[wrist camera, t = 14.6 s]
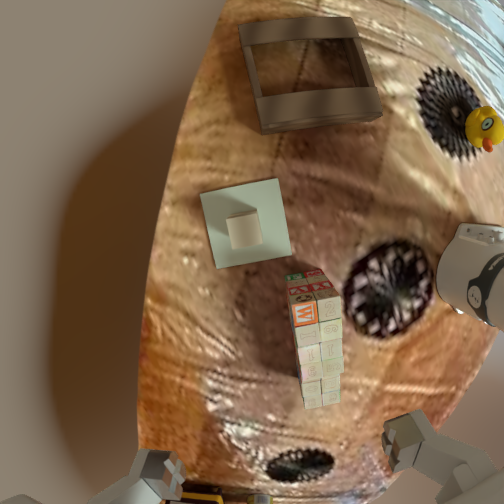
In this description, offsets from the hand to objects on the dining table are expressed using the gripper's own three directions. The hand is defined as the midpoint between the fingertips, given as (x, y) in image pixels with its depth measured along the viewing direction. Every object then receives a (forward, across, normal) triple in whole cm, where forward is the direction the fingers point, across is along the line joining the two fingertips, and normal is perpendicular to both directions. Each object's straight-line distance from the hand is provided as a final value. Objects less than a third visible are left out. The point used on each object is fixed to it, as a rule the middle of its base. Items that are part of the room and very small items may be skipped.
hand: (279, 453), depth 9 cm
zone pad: (+37, +2, -4) cm, 37 cm away
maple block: (+36, +2, -4) cm, 37 cm away
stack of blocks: (+37, -5, +16) cm, 41 cm away
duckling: (+37, -44, -15) cm, 60 cm away
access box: (+37, -12, -26) cm, 47 cm away
